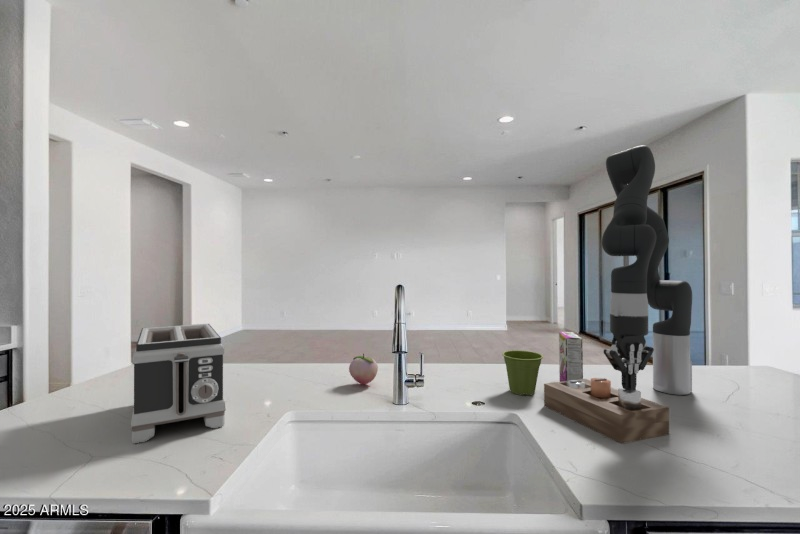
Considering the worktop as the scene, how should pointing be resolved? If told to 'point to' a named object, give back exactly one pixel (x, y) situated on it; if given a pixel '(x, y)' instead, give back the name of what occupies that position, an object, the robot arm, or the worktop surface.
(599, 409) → the console
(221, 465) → the worktop surface
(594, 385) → the terracotta knob
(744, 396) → the worktop surface
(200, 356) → the toaster
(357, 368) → the decorative fruit
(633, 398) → the metal knob
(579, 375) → the candy bar box
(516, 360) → the plant pot
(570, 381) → the metal knob
